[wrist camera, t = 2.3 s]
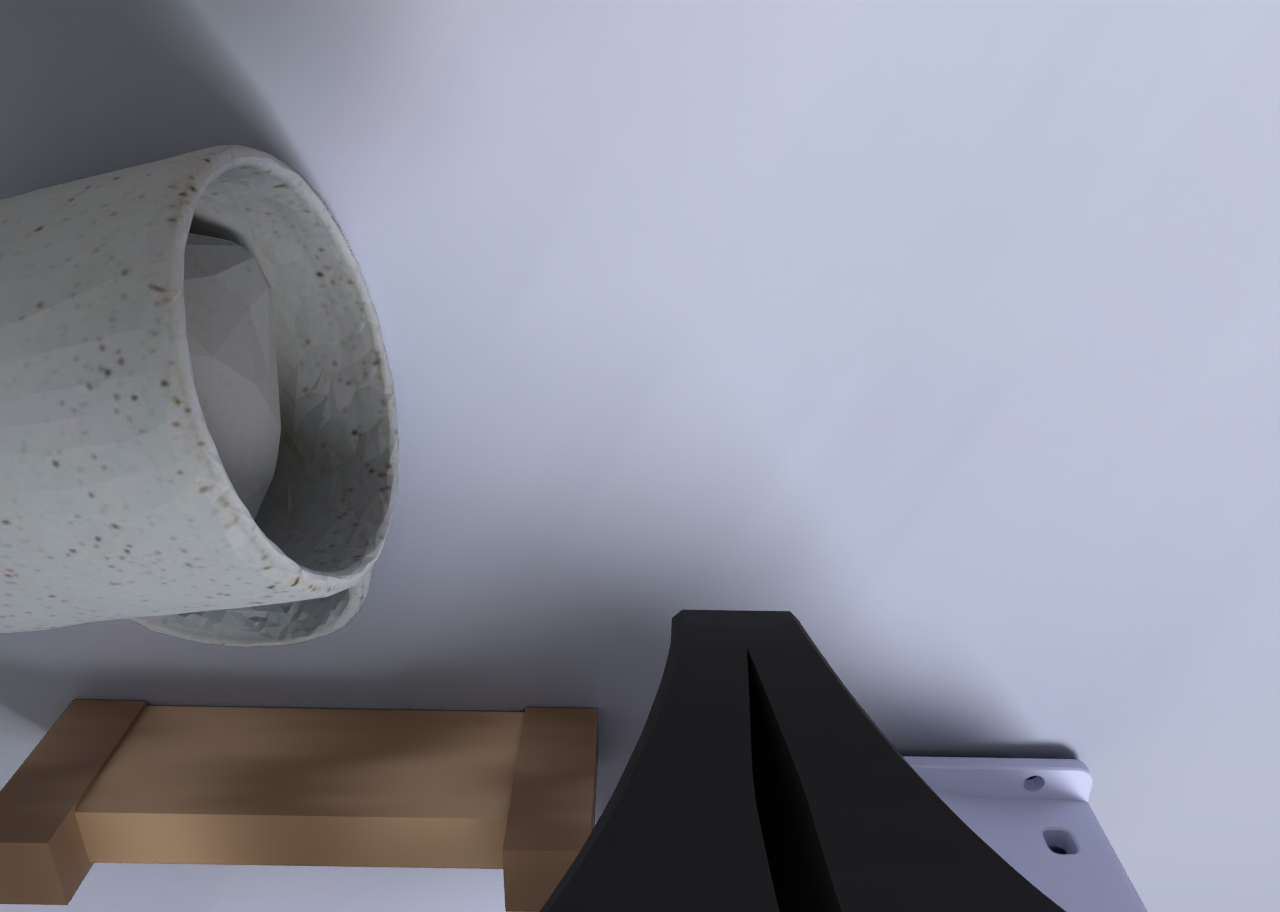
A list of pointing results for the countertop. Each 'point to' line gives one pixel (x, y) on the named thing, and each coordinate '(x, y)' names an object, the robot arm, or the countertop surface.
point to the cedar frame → (301, 793)
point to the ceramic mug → (189, 405)
